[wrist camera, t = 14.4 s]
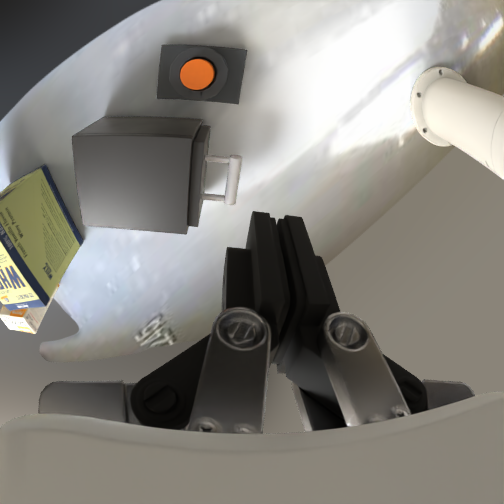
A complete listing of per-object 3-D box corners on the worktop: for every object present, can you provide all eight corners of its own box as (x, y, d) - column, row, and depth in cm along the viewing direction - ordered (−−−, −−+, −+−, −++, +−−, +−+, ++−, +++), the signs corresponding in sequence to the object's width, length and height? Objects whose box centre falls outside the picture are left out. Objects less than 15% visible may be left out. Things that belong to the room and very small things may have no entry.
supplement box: (51, 267, 47) (23, 317, 37) (60, 285, 50) (36, 335, 40) (24, 268, 47) (-3, 314, 37) (34, 285, 50) (9, 330, 40)
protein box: (45, 162, 35) (-15, 216, 22) (85, 241, 44) (48, 309, 32) (8, 183, 36) (-45, 236, 23) (46, 252, 45) (9, 313, 33)
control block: (246, 50, 29) (247, 49, 26) (238, 102, 33) (238, 106, 30) (164, 45, 27) (158, 44, 25) (159, 96, 31) (152, 100, 29)
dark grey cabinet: (202, 119, 34) (192, 138, 27) (195, 198, 41) (186, 234, 34) (103, 116, 32) (71, 136, 25) (107, 192, 39) (82, 225, 32)
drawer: (244, 129, 34) (245, 146, 28) (233, 201, 40) (233, 230, 35) (116, 122, 32) (92, 138, 26) (118, 192, 38) (100, 218, 33)
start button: (216, 60, 27) (215, 60, 26) (212, 89, 29) (211, 91, 28) (184, 58, 26) (181, 58, 25) (181, 87, 29) (178, 88, 27)
